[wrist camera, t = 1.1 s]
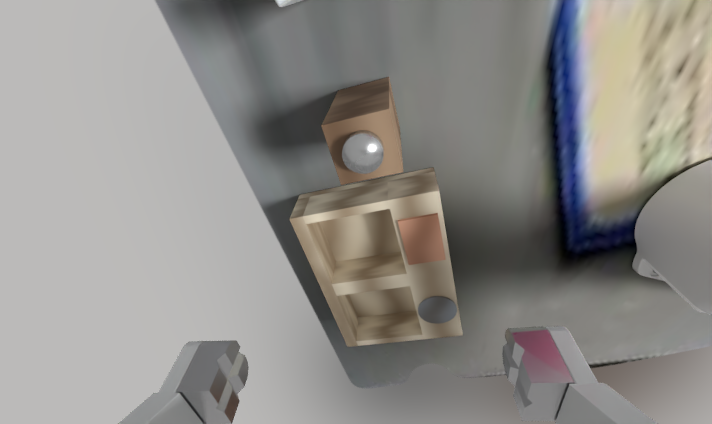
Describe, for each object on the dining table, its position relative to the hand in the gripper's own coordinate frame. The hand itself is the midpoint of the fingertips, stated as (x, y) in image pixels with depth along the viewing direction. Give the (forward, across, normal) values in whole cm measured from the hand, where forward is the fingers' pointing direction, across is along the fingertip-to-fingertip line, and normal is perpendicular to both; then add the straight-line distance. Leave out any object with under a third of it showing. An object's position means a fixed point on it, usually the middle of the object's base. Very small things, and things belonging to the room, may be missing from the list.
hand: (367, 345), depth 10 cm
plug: (+27, +1, +1) cm, 27 cm away
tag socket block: (+27, +1, +20) cm, 34 cm away
